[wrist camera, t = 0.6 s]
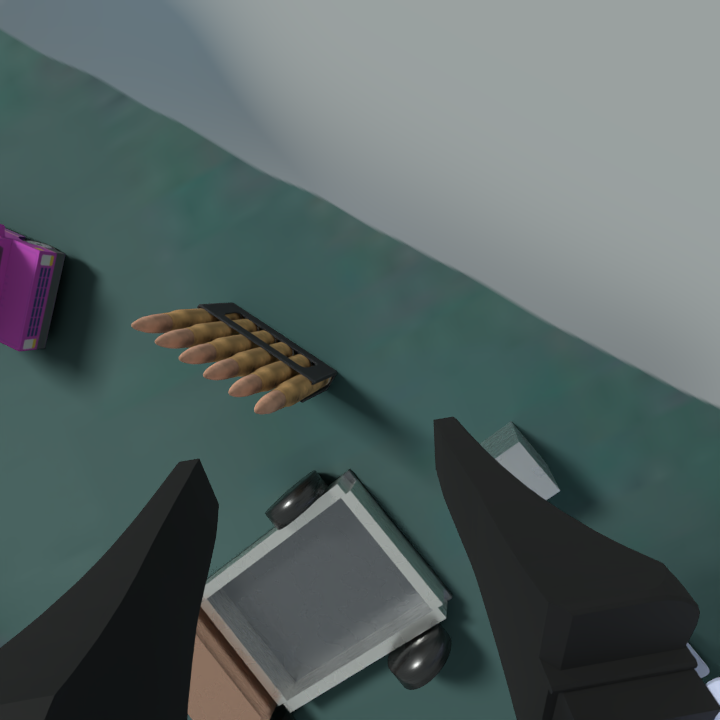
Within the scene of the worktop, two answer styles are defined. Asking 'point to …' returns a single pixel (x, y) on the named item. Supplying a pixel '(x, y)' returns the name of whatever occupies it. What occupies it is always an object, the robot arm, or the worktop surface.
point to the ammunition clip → (242, 353)
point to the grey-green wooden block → (521, 460)
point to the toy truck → (27, 290)
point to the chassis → (315, 607)
